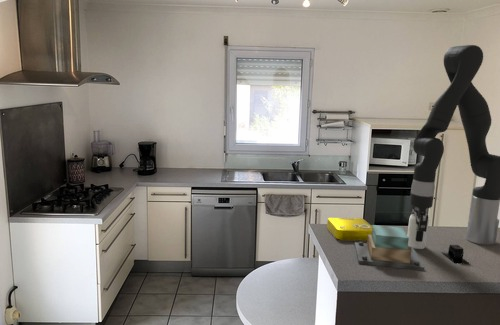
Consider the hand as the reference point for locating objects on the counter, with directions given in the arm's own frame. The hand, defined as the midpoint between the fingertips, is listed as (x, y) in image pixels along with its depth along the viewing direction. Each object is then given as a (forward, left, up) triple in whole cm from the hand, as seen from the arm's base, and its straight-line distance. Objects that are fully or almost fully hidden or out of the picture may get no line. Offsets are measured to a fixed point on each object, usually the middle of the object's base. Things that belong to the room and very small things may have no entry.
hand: (416, 237), depth 148 cm
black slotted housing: (-11, +8, -4) cm, 14 cm away
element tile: (+23, -7, -4) cm, 24 cm away
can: (0, 0, -3) cm, 3 cm away
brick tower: (+12, +13, -3) cm, 18 cm away
